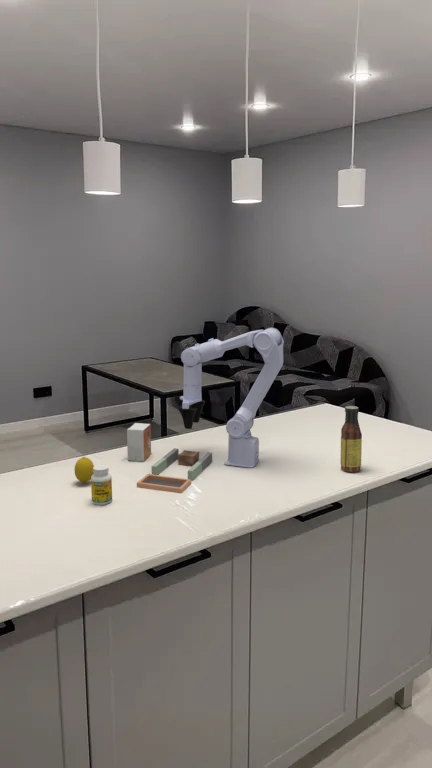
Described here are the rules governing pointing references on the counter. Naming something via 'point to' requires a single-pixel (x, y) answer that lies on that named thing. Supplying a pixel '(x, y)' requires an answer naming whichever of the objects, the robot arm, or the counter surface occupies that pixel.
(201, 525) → the counter surface
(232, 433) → the robot arm
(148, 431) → the small box
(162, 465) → the green and grey bars
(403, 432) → the counter surface
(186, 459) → the walnut block
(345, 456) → the sauce bottle
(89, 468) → the lemon
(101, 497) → the supplement bottle
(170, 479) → the tray
